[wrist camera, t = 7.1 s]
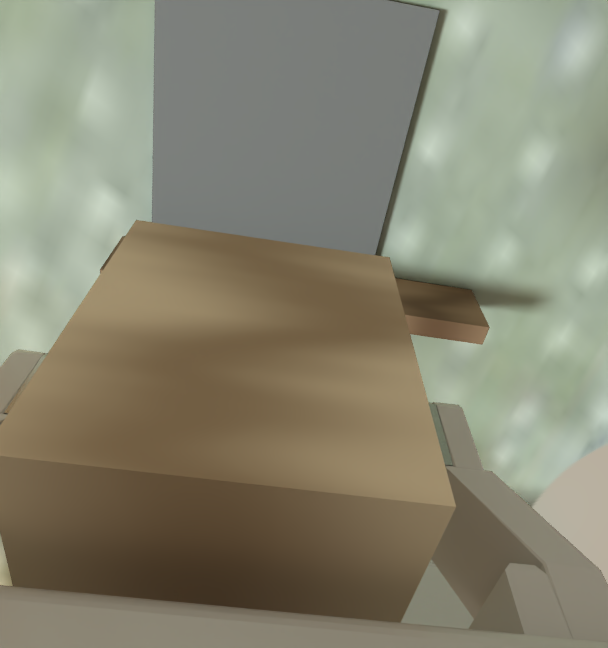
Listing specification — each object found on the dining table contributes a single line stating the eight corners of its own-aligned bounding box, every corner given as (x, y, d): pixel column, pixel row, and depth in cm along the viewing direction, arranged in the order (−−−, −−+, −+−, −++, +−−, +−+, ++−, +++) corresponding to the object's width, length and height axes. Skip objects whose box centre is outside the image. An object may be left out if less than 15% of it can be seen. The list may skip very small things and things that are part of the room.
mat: (438, 10, 22) (439, 10, 21) (373, 256, 28) (373, 259, 28) (157, -45, 21) (155, -45, 21) (153, 222, 27) (151, 225, 27)
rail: (471, 289, 29) (489, 327, 26) (465, 305, 29) (482, 344, 26) (122, 236, 27) (100, 269, 24) (123, 254, 28) (101, 288, 25)
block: (389, 257, 11) (456, 507, 6) (341, 435, 14) (359, 708, 9) (136, 220, 11) (-19, 453, 6) (138, 411, 13) (35, 682, 8)
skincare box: (372, 477, 37) (403, 739, 25) (457, 492, 38) (528, 754, 25) (339, 550, 42) (350, 803, 29) (414, 562, 42) (457, 813, 30)
